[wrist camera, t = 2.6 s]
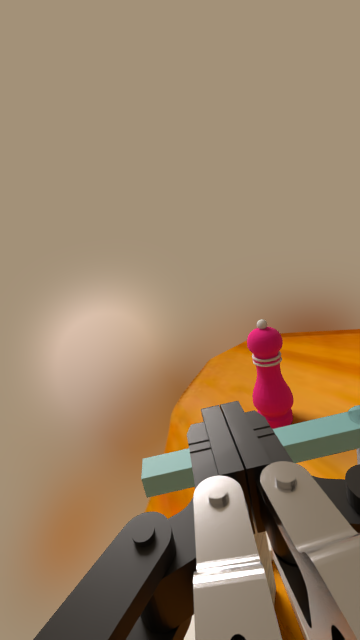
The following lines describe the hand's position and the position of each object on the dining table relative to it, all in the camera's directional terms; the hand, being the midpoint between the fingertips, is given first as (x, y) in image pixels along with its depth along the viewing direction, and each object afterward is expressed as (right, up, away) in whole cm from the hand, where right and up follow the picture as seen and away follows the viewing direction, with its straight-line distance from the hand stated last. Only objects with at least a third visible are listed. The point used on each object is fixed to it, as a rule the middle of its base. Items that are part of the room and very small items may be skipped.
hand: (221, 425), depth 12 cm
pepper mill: (+17, -15, +44) cm, 50 cm away
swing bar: (+6, -7, +13) cm, 16 cm away
